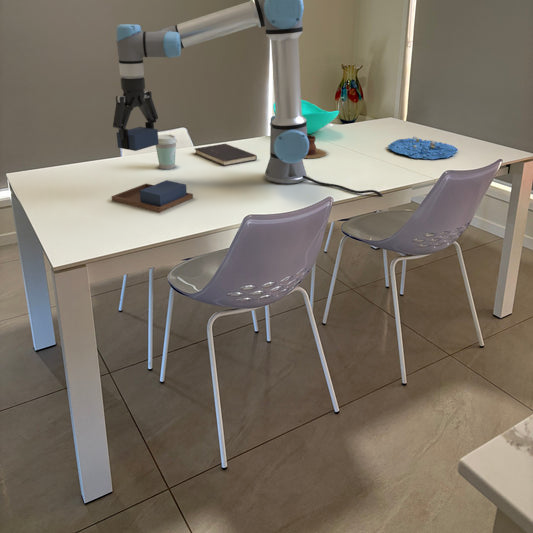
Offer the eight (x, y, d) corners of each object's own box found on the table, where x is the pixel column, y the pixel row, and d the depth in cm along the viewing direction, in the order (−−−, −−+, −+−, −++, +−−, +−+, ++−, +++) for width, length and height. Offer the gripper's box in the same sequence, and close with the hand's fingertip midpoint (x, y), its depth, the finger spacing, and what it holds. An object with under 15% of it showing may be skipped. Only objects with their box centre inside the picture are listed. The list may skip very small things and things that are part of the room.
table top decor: (352, 138, 277) (354, 109, 271) (302, 144, 265) (303, 114, 259) (306, 122, 308) (307, 96, 303) (260, 127, 296) (260, 100, 290)
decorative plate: (471, 160, 248) (474, 148, 245) (406, 163, 241) (408, 151, 238) (437, 141, 273) (439, 130, 270) (377, 143, 266) (379, 132, 264)
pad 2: (187, 198, 195) (186, 184, 193) (160, 210, 185) (159, 195, 183) (167, 194, 199) (166, 180, 197) (140, 205, 189) (139, 190, 187)
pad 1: (158, 144, 199) (157, 129, 197) (135, 151, 190) (134, 135, 188) (141, 141, 203) (140, 126, 201) (117, 147, 194) (116, 132, 192)
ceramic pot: (294, 146, 262) (295, 130, 259) (332, 151, 255) (333, 134, 252) (277, 155, 248) (278, 138, 244) (317, 160, 241) (318, 143, 238)
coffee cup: (174, 171, 226) (172, 139, 221) (152, 169, 227) (150, 138, 222) (181, 165, 233) (179, 134, 228) (160, 163, 235) (158, 133, 230)
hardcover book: (223, 166, 232) (223, 160, 231) (194, 153, 249) (194, 148, 248) (256, 160, 241) (256, 154, 240) (226, 148, 257) (226, 143, 256)
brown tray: (193, 199, 196) (192, 193, 195) (159, 214, 183) (159, 208, 182) (146, 188, 206) (146, 183, 205) (112, 202, 193) (111, 196, 192)
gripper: (149, 72, 198) (154, 137, 207) (96, 80, 180) (103, 150, 189) (166, 73, 194) (170, 139, 204) (113, 82, 176) (120, 154, 186)
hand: (138, 145), depth 197 cm, fingers closed on pad 1, 11 cm apart
